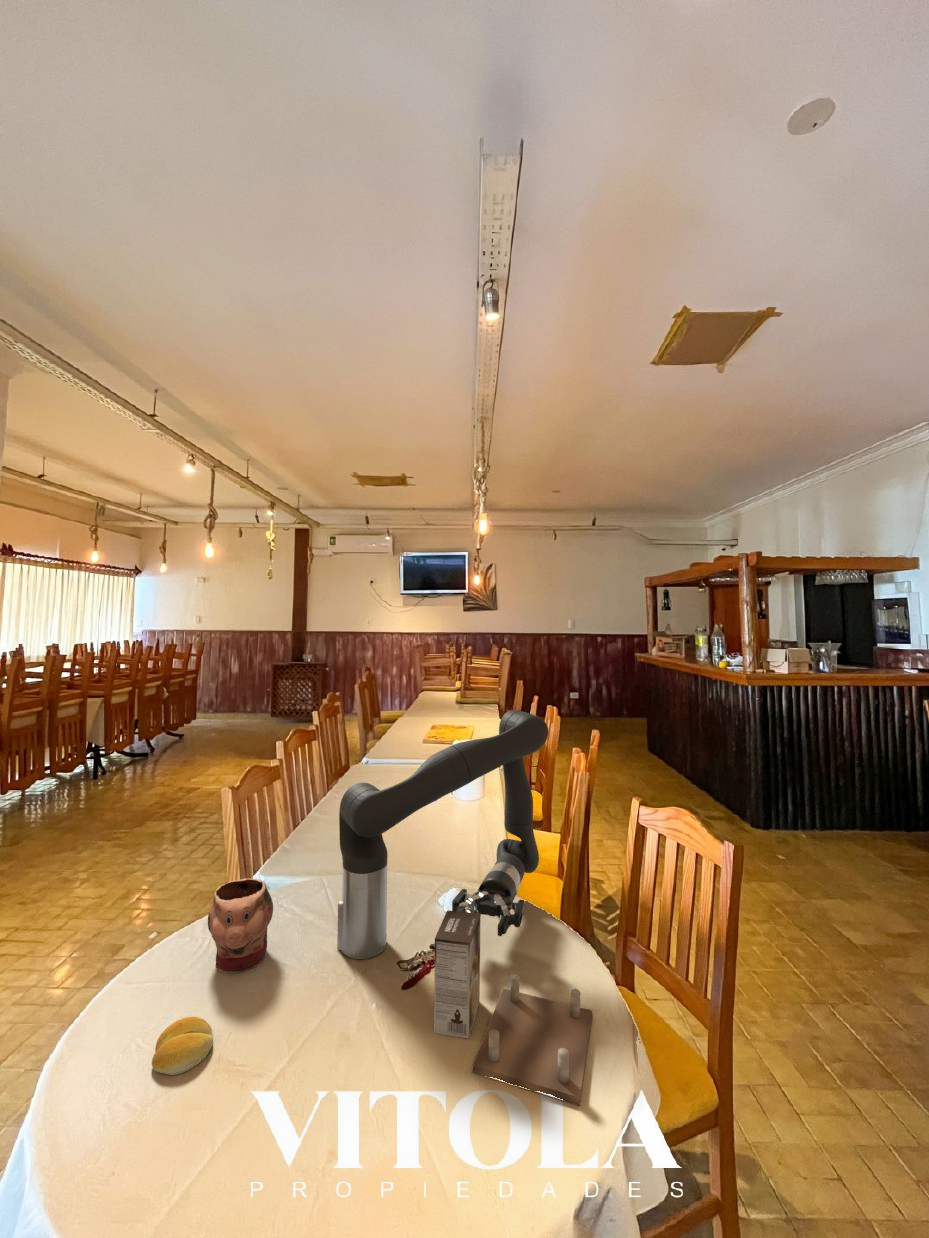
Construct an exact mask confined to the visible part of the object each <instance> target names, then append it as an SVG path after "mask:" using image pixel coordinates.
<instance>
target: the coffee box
mask: <svg viewBox="0 0 929 1238" xmlns="http://www.w3.org/2000/svg"><path fill="white" fill-rule="evenodd" d="M481 916H482V914H477V913H469V912H461V911H459V912H458V911H452V910H447V911H446V912H445V914H444V917H443V919H442V921H441V924H440V926H439V928H438V930H437V933H436V935H435V937H434V974H433V975H434V984H433V985H434V987H433V988H434V991H433V1033H435V1034H438V1035H443V1036H444V1035H446V1036H451V1037H456V1038H457V1037H458V1038H464V1039H470V1037H471V1034H472V1032H473V1027H474V1025H475V1019H476V1016H477V1012H478V1008H479V1004H480V1001H481V1000H480V998H481V997H480V992H481V991H480V987H481V985H480V984H481V981H480V979H481V978H480V977H481V974H480V973H481Z"/></svg>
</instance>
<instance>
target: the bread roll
mask: <svg viewBox="0 0 929 1238" xmlns="http://www.w3.org/2000/svg"><path fill="white" fill-rule="evenodd" d="M213 1036H214V1035H213V1029H212V1027H211V1025H210V1023H209V1022H208V1021H206V1019H204V1018H202V1017H197V1016H187V1017H183V1018H180V1019H177V1020H176V1021H174V1022H172V1023H171V1024H170V1025H169V1026H167V1027H166V1028H165V1029H164V1030H163V1031H162V1032H161V1033H160V1035H159V1036H158V1038H157V1041H156V1042H155V1043H156V1044H155V1048H154V1052H155V1053H154V1054H153V1056H152V1058H151V1059H152V1060H151V1067H152V1069H153V1070H154V1071H155V1072H157V1073H160V1074H163V1075H164V1074H165V1075H170V1076H174V1075H175V1076H177V1075H181V1074H182V1073H185V1072H187V1071H190V1070H192V1069H193V1068H194V1067H195V1066H197V1065H198V1064H199V1063H201V1062H202V1061H203V1060H204V1059H205V1058H206V1057H207V1056H208V1054H209V1052H210V1050H211V1049H212V1046H213V1043H214V1042H213V1041H214V1040H213V1039H214V1037H213Z"/></svg>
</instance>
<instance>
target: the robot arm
mask: <svg viewBox="0 0 929 1238" xmlns="http://www.w3.org/2000/svg"><path fill="white" fill-rule="evenodd" d="M549 733H550V732H549V727H548V724H547V723H546V721H545V720H543V719H542V718H541V717H539V716H538V715H535V714H532V713H529V712H525V711H521V710H519V709H511V710H509V711H506V712H505V713H504V714H503V715H502V717H501V719H500V722H499V725H498V734H496V735H493V736H490V737H484V738H478V739H472V740H471V739H469V740H465V741H462V742H457V743H455V744H452V745H450V746H447V747H446V748H444V749H441V750H440V751H438V752H436V753H434V754H432V755H430V756H429V757H428V758H427V759H426V760H424V762H423V763H422V764H421V765H420V766H419V767H418V768H417V770H416V771H415V772H414V773H413V774H411V775H410V776H409V777H408V778H406V779H405V780H403V781H400V782H399V783H396V784H394V785H392V786H390V787H389V786H388V787H387V788H384V789H379V788H377V787H376V786H375V785H373V784H372V783H368V782H358V783H355V784H353V785H351V786H350V787H348V788H347V789H346V791H345V792H344V794H343V795H342V798H341V800H340V804H339V813H338V814H339V815H338V817H339V818H338V820H339V821H338V823H339V824H338V827H339V828H338V829H339V848H340V853H341V859H342V872H341V873H342V877H341V878H342V879H341V880H342V881H341V884H342V885H341V887H342V894H341V896H342V897H341V900H339V902H338V903H337V937H336V939H337V941H336V942H337V944H336V946H337V947H336V948H337V950H339V951H341V952H342V953H343V954H344V955H345V956H346V957H348V958H350V959H353V960H367V959H371V958H374V957H376V956H378V955H380V954H381V953H383V951H384V950H385V949H386V947H387V937H388V936H387V926H388V925H387V921H388V919H387V917H388V916H387V915H388V913H387V912H388V907H387V906H388V857H389V856H388V848H387V845H386V843H385V841H384V837H383V834H384V833H386V832H387V831H389V830H391V829H392V828H394V827H395V826H397V825H398V824H399V823H401V822H402V821H404V820H405V819H407V818H408V817H409V816H412V815H413V814H414V813H416V812H417V811H419V810H420V809H423V808H424V807H427V806H428V805H430V804H432V803H434V802H437V800H440V799H441V798H443V797H445V796H447V795H449V794H451V793H454V792H456V791H457V790H459V789H461V788H463V787H465V786H467V785H468V784H471V783H472V782H473V781H476V780H477V779H478V778H481V777H483V776H485V775H487V774H489V773H491V772H493V771H495V770H496V769H499V768H500V767H502V769H503V779H504V780H503V781H504V822H503V824H504V829H505V831H506V832H508V834H510V835H513V836H514V837H516V838H518V839H520V840H517V839H511V838H504V839H502V840H501V841H500V842H499V843H498V845H497V847H496V861H495V863H494V864H493V866H492V868H490V870H489V871H488V872H487V874H486V875H485V877H484V878H483V880H482V882H481V883H480V885H479V886H478V889H477V891H476V892H474V893H473V894H471V893H469V892H468V889H466V888H462V889H460V891H459V892H458V894H456V896H455V897H454V898H453V899H452V902H451V903H452V904H451V911H458V912H459V911H461V912H469V913H477V914H481V915H484V916H485V915H486V916H489V917H492V918H493V917H494V918H495V917H496V918H497V920H498V924H497V936H498V937H502V936H503V935H506V934H507V932H508V930H509V928H510V927H511V926H514V927H515V928H520V927H521V925H522V921H523V917H524V915H525V900H524V899H519V900H518V901H517V902H515V901H514V900H515V898H516V896H517V895H518V892H519V887H520V885H521V883H522V881H523V880H524V879H523V878H524V876H525V874H532V873H534V872H535V871H536V870H537V868H538V866H539V862H540V855H539V849H538V845H537V841H536V837H535V832H534V825H533V824H534V821H533V820H534V797H533V792H532V788H531V784H530V782H529V777H528V775H527V771H526V766H525V761H524V757H527V756H529V755H531V754H534V753H536V752H538V751H539V750H540V749H541V748H543V746H544V745H545V743H546V742H547V741H548V737H549ZM467 892H468V893H467ZM466 908H467V909H466ZM511 910H513V913H511Z"/></svg>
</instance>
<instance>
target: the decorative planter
mask: <svg viewBox="0 0 929 1238" xmlns="http://www.w3.org/2000/svg"><path fill="white" fill-rule="evenodd" d="M273 915H274V903H273V899H272V896H271V894H270V893H269V890H268V888H267V884H266V882H264V881H263V880H262V879H259V878H245V877H244V878H242V879H236V880H231V881H229V882H226V883H224V884H221V885H220V886H219V887H218V888H217V889H216V890H215V891H214V894H213V898H212V904H211V905H210V907H209V910H208V913H207V929H208V931H209V933H210V934H211V937H212V940H213V941H214V943H215V946H216V954H215V968H216V969H218V970H219V971H220V972H222V973H223V972H224V973H239V972H243V971H247V970H250V969H252V968H255V967H256V966H258V965H259V964H261V963H262V962H263V961H264V959H265V957H266V954H267V950H268V927H269V925H270V923H271V922H272V921H271V920H272V918H273Z"/></svg>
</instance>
